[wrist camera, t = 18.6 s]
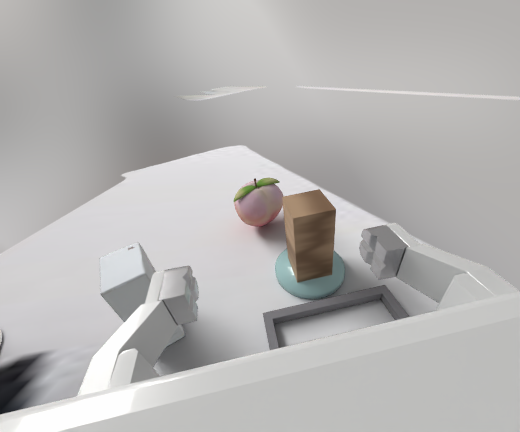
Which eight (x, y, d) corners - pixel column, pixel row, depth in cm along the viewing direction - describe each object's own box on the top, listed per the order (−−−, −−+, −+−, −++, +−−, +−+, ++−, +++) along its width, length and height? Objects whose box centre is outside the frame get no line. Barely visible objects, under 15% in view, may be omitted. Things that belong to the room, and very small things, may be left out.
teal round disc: (285, 306, 31) (284, 301, 30) (270, 254, 39) (269, 250, 38) (357, 289, 31) (358, 284, 31) (327, 242, 39) (327, 237, 39)
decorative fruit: (265, 206, 51) (259, 163, 46) (292, 220, 46) (289, 174, 40) (230, 226, 47) (218, 182, 41) (255, 245, 41) (246, 196, 36)
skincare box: (144, 318, 32) (98, 256, 25) (174, 302, 34) (139, 239, 27) (151, 358, 28) (98, 294, 21) (186, 337, 29) (147, 272, 22)
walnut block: (297, 282, 32) (292, 218, 26) (287, 257, 36) (282, 197, 30) (332, 274, 33) (335, 209, 26) (318, 250, 37) (319, 189, 30)
